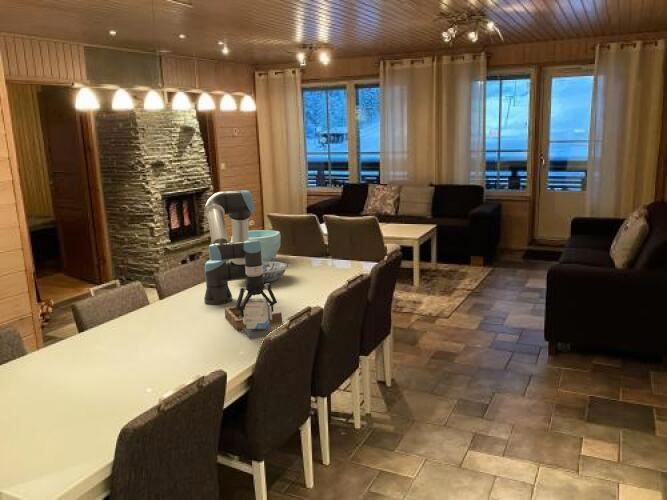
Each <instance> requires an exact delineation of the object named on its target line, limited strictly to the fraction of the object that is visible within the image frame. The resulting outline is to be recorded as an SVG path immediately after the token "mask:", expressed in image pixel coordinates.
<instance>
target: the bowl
mask: <svg viewBox="0 0 667 500" xmlns="http://www.w3.org/2000/svg"><path fill="white" fill-rule="evenodd" d="M248 235H249V240H252V239H256V240H259V241H260V243H261V256H262V261H272V260H273V258H275V257H277V255H278V253H279V252H278V251H279V249H280V248H281V238H282V236H281V232H280V231H279V230H269V229H268V230H267V229H257V230H256V229H255V230H254V229H253V230H248ZM230 243H232V236H231V238H230Z"/></svg>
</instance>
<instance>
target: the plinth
mask: <svg viewBox="0 0 667 500" xmlns="http://www.w3.org/2000/svg"><path fill="white" fill-rule="evenodd" d="M273 330H275V329H274V328H273V327H272V325H269V324H268V325H267V327H266V328H265V329H247V327H242V333H243V334H244V335H245V336H246V338H248V340H253V339H259V338H263V337H267V336H266V335H268V334H269V333H270V332H272V331H273Z"/></svg>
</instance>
